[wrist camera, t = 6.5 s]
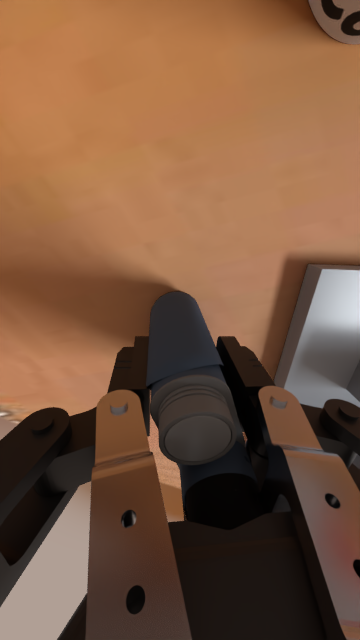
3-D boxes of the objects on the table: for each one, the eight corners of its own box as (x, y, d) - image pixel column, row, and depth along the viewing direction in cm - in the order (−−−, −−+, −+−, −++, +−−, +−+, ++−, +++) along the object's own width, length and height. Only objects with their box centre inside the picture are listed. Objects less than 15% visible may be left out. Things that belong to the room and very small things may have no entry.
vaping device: (174, 368, 15) (219, 787, 4) (145, 295, 13) (72, 818, 2) (212, 356, 15) (363, 758, 4) (190, 280, 12) (404, 751, 2)
